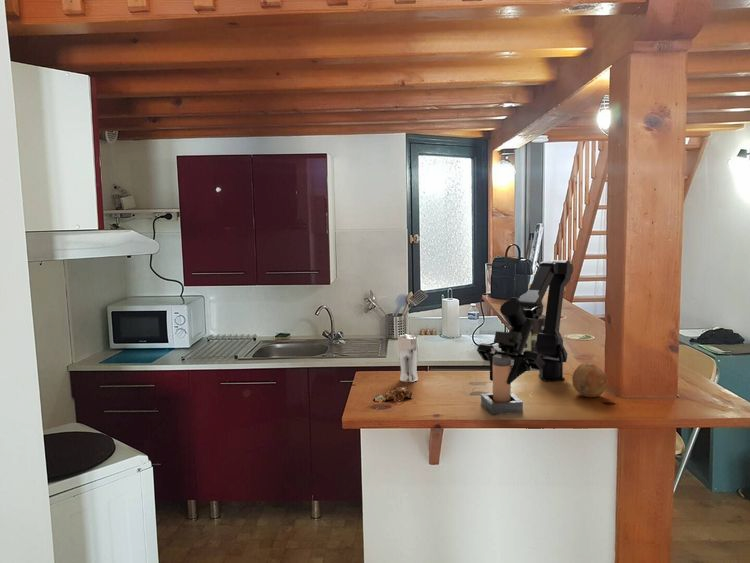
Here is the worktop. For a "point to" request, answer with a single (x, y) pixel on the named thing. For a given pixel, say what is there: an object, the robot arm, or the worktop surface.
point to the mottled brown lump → (395, 394)
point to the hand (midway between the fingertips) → (499, 381)
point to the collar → (501, 405)
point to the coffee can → (535, 332)
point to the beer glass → (408, 357)
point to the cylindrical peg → (501, 378)
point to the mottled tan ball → (589, 380)
